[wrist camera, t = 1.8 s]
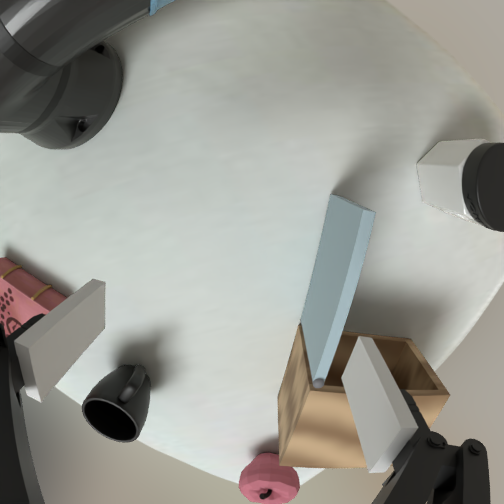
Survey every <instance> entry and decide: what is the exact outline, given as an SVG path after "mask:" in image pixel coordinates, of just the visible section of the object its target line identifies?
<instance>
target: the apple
mask: <svg viewBox="0 0 504 504" xmlns="http://www.w3.org/2000/svg"><path fill="white" fill-rule="evenodd" d="M299 488H300V484H299V477H298V474H297V472H296V471H295V470H294V469H293V468H292V467H290V466H279V455H278V454H273V453H262V454H259V455H258V456H257V457H256V458H255V459H254V460H253V461H252V462H251V463H250V464H249V465H248V466H246V467H245V468H244V470H243V471H242V472H241V476H240V480H239V489H240V491H241V493H242V494H243V495H244V496H245V497H246V498H247V499H248V500H249V501H251V502H259V503H262V504H282V503H287V502H289V501H290V500H292V499H293V498H295V496H296V495H297V493H298V491H299Z"/></svg>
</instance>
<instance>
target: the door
mask: <svg viewBox="0 0 504 504" xmlns="http://www.w3.org/2000/svg"><path fill="white" fill-rule="evenodd" d="M375 214H376V212H374V211H372V210H370V209H367V208H365V207H363V206H361V205H359V204H356V203H354V202H352V201H350V200H348V199H345V198H343V197H341V196H338V195H333V194H330V199H329V204H328V209H327V213H326V218H325V223H324V227H323V232H322V236H321V240H320V245H319V249H318V253H317V258H316V262H315V266H314V270H313V274H312V278H311V282H310V286H309V290H308V294H307V298H306V302H305V306H304V310H303V313H302V317H301V325H302V330H303V335H304V340H305V345H306V350H307V355H308V361H309V366H310V371H311V377H312V382H313V386H314V387H315V388H321V387H323V386H324V382H325V379H326V376H327V374H328V371H329V368H330V366H331V363H332V360H333V357H334V355H335V352H336V349H337V346H338V343H339V340H340V337H341V334H342V331H343V328H344V325H345V322H346V319H347V316H348V313H349V310H350V307H351V303H352V300H353V297H354V293H355V290H356V287H357V283H358V280H359V276H360V273H361V269H362V265H363V262H364V258H365V254H366V251H367V247H368V243H369V239H370V235H371V231H372V227H373V222H374V218H375Z"/></svg>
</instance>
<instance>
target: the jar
mask: <svg viewBox="0 0 504 504" xmlns="http://www.w3.org/2000/svg"><path fill="white" fill-rule="evenodd" d="M417 170H418V176H419V182H420V189H421V196H422V202H424V203H426V204H428V205H430V206H432V207H435V208H437V209H439V210H441V211H443V212H445V213H448V214H450V215H453V216H456V217H458V218H460V219H463V220H465V221H470V222H473V223H476V224H478V225H481V226H484V227H486V228H488V229H491V230H494V231H495V230H496V231H500V232H504V143H490V142H489V141H487V140H486V139H465V140H450V141H439V142H438V143H437V144H436V145H435V146H434V147H433V148H432V149H431V150H430V151H429V152H428V153H427V154H426V155H425V156H424V157H423V158H422V159H421V160H420V161H419V162H418V163H417Z"/></svg>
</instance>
